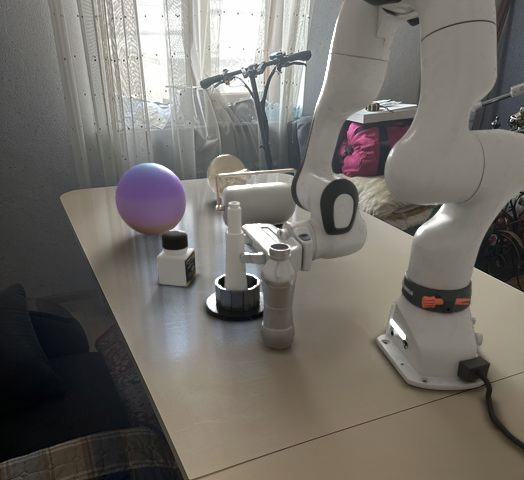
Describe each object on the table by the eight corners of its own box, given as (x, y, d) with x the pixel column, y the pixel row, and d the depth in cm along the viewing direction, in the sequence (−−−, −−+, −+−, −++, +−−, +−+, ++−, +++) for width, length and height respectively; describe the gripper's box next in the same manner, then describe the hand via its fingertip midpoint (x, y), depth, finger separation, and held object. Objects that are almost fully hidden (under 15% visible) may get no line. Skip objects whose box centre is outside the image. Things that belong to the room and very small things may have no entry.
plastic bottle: (283, 356, 96) (287, 256, 86) (253, 346, 99) (253, 248, 89) (300, 341, 101) (305, 245, 90) (270, 332, 104) (272, 237, 93)
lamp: (194, 224, 185) (222, 232, 149) (186, 157, 178) (214, 148, 141) (264, 216, 193) (307, 222, 156) (259, 152, 185) (304, 143, 149)
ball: (116, 226, 158) (107, 158, 147) (181, 220, 164) (175, 154, 153) (124, 249, 142) (114, 175, 131) (195, 241, 148) (190, 169, 137)
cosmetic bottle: (255, 304, 112) (255, 203, 100) (232, 312, 109) (230, 209, 97) (239, 294, 116) (237, 196, 104) (217, 301, 113) (212, 201, 101)
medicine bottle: (187, 287, 122) (183, 238, 115) (158, 284, 123) (153, 236, 116) (196, 275, 128) (193, 228, 121) (169, 272, 129) (164, 226, 122)
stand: (270, 321, 108) (271, 296, 105) (204, 321, 108) (202, 296, 104) (268, 292, 120) (269, 268, 116) (208, 292, 119) (207, 268, 116)
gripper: (277, 214, 117) (219, 220, 113) (315, 244, 101) (248, 253, 97) (277, 240, 120) (220, 247, 116) (313, 274, 104) (249, 283, 100)
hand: (233, 250), depth 106 cm, fingers open, 8 cm apart
